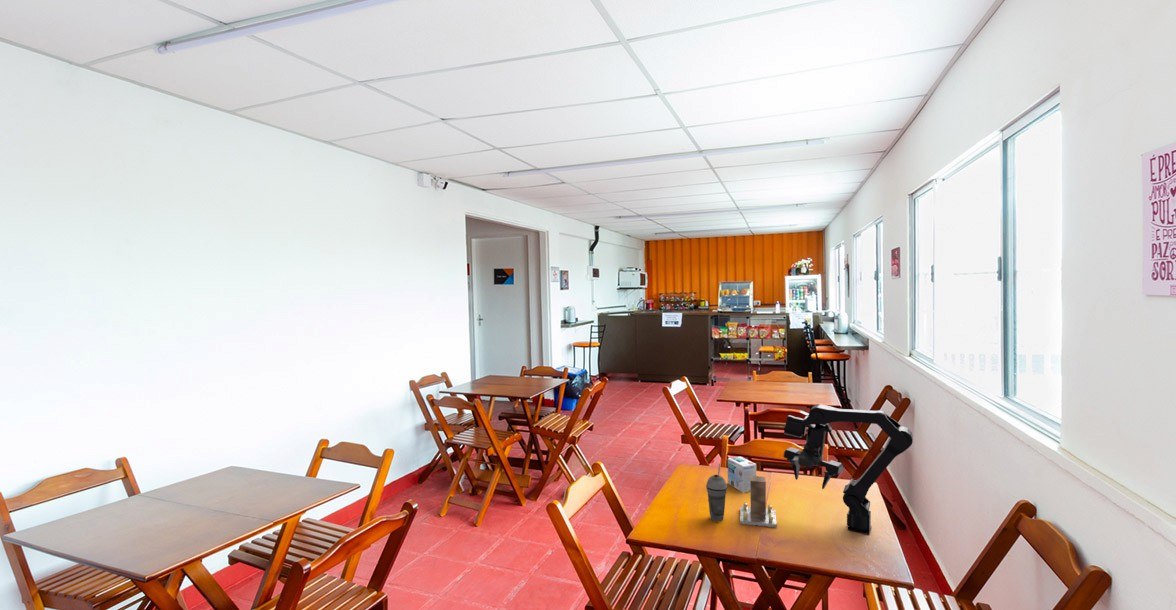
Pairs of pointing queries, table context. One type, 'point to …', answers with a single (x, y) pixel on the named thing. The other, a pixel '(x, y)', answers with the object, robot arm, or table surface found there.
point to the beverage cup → (716, 496)
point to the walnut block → (758, 497)
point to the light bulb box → (740, 473)
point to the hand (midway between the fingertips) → (809, 483)
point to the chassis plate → (747, 519)
